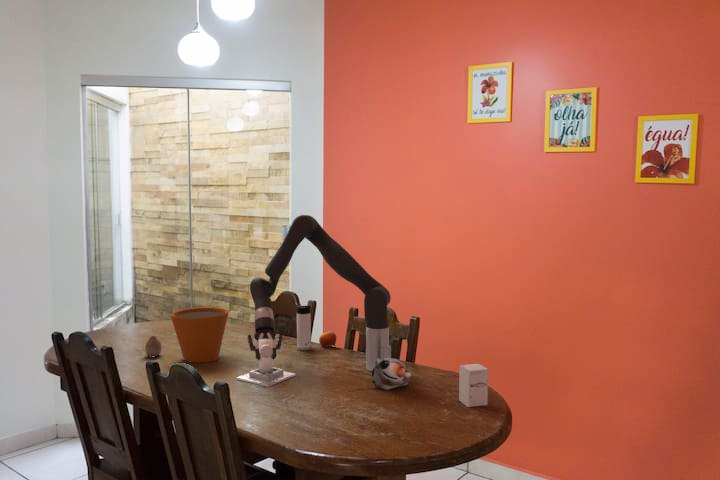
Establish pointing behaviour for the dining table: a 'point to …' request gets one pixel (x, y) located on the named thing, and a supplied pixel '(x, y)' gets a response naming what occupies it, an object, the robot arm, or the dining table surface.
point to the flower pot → (200, 332)
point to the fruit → (327, 339)
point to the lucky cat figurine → (390, 374)
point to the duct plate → (266, 377)
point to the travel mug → (304, 328)
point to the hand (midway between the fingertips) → (266, 358)
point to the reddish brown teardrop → (153, 347)
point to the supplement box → (473, 385)
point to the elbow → (266, 355)
